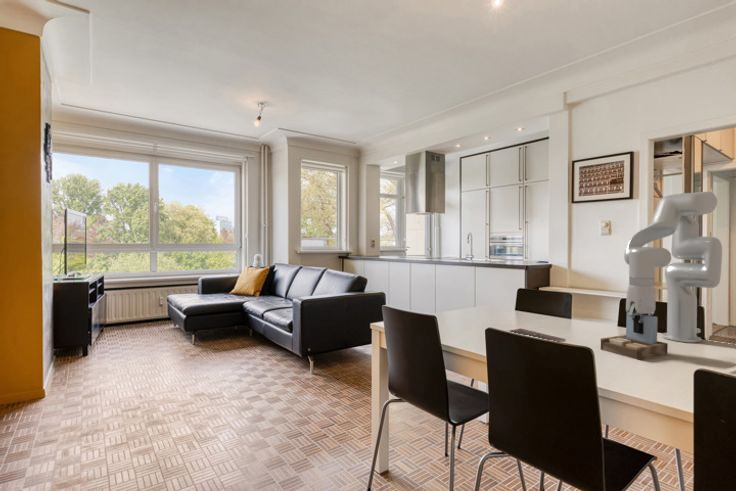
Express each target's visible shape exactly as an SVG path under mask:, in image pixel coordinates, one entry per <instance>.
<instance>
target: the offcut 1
mask: <svg viewBox="0 0 736 491" xmlns="http://www.w3.org/2000/svg"><path fill="white" fill-rule="evenodd" d="M609 343H612V344H616V345H620V346H624V347H626V344H631V340H627V339H622V338H613V339H609Z"/></svg>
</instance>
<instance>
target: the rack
mask: <svg viewBox="0 0 736 491" xmlns="http://www.w3.org/2000/svg"><path fill="white" fill-rule="evenodd" d="M613 338H622V339H627V340H631V343H638V344H642V345H646V346H643V347H638V348H637V350H636V349H632V348H628V347H624V346H620V345H616V344H612V343H609V339H613ZM600 351H603V352H604V351H605V352H609V353H611V354H615V355H619V356H623V357H627V358H630V359H634V360H637V361H644V360H648V359H654V358H659V357H664V356H668V343H666V342H663V341H659V340H657V344H651V343H646V342H642V341H638V340H634V339H629V338H626V334H622V335H616V336H609V337H602V338H600Z"/></svg>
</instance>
